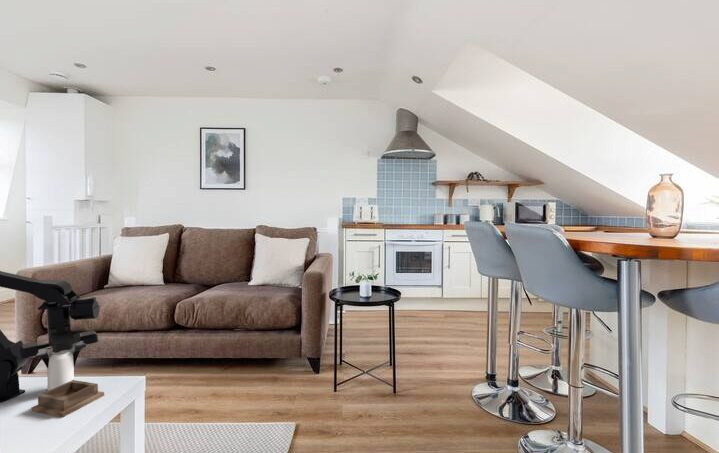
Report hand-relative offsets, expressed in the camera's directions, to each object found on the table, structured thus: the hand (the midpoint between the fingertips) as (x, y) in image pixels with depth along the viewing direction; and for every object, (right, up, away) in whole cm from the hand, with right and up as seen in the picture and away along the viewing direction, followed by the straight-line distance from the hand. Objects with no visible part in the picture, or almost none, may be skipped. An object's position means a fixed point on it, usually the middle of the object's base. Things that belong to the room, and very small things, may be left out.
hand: (62, 370), depth 117 cm
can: (0, -6, 0) cm, 6 cm away
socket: (+9, -6, -9) cm, 14 cm away
